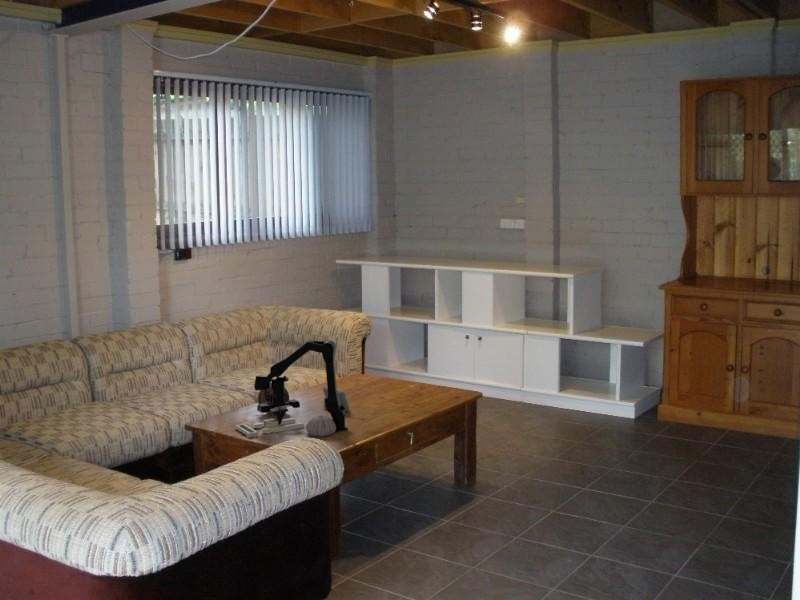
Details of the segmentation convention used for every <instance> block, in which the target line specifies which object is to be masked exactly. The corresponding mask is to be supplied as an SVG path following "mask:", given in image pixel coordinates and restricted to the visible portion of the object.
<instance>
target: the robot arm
mask: <svg viewBox="0 0 800 600" xmlns="http://www.w3.org/2000/svg"><path fill="white" fill-rule="evenodd" d="M309 351H311V352H312V351H313V352H316V353H320V354H321V356H322V358H323V361H324V363H325V364H324V365H325V374H326V386H327V387H328V396H326V397H325V396H324V400H325V408H326V409H327V410H326V409H325V410H326V411H327V412H328V413H329V414H330V417H331V419H332V420H333V422H334V423H335V424H336V425H335V426H336V431H335V432H339V431H343V430H348V429H349V428H348V427H347V426H346V415H345V413H346V412H347V411H346V408H345V407H344V406H343V405H342V404H341V401H340V397H339V395H338V392H337V389H338V388H337V378H336V377H337V376H336V366H335V358H336V353H337V352H336V351H337V345H336V343H335V342H334V341H332V340H326V341H325V340H324V341H323V340H312V339H309V340H307V341H306V342H305V343H304V344H303V345H302V346H300V347H299V348H298V349H296V350H295V351H294V352H292V353H291V354H290V355H288V356H287V357H286V358H282V359H281V360H279V361H277V362H275V363H274V364H272V366H271V367H269V369H270V370H269V371H270V372H269V373H268V374H267V375H256V376H255V380H254V384H253V386H254V391H257V392H260V391H268V390H269V389H270V388H271V383H272V392H271V396H269V395H268V394H266V395H263V400H264V402H268V404H272V405H267V404H266V403H265V404H258V403H257V406H256V411H258V412H259V413H260V414H261V413H262V414H264V413H265V414H267V413H266V412H269V411H271V412H273V414H274V415H273V416H274V417H275V418H274V419H275V420H277V421H278V426H281V425H280V424H281V422H282V420H283V419H284V417H285V415H286V414H287V412H289V409H288V407H292V408H293V409H298V408H301V403H300V401H299V400H297V399H295V398H293V399H289V400H288V401H287V403H286V402H285V396H286V393H285V388H286V386H285V383H286V382H288V381H289V380H290V379H289V378H288V377H287V375H283V374H284V373H285V372H286V371H287V370H288V369H289V367H291V365H292V364H294V363H296V361H298V360H299V359H301V358H302V357H303V356H304V355H306V354H307V353H308V352H309ZM282 375H283V376H282ZM275 406H276V407H275Z"/></svg>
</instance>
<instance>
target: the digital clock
mask: <svg viewBox="0 0 800 600" xmlns="http://www.w3.org/2000/svg"><path fill="white" fill-rule="evenodd" d="M322 390H323V393H324V398H325V397H326V396H328V387H327V385H326V386H323V387H322ZM337 392H338V395H339V397H340V401H341V404H342V405H343V406H344V407H345V408H346V411H345V412H350V406H349V402H348V399H347V396H346V393H345V391H343V390H341V389H338V388H337ZM323 407H324V410H326V411H327V409H326V408H325V400H324V401H323Z"/></svg>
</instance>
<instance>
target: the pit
mask: <svg viewBox="0 0 800 600" xmlns="http://www.w3.org/2000/svg"><path fill="white" fill-rule="evenodd" d="M243 428H244V429H243ZM236 429H237V430H239V431H240V432H242V433H243V434H242V433H241V434H242V435H244V434H245V435H246V436H245V435H244V436H245V437H247V436H248V437H253V438H256V437H255V436H258V437H259V433H258V431H256V429H254V428H252V427H250V426H248V425H246V424H245V423H242V424H235V430H236ZM237 430H236V431H237ZM246 430H247V431H246ZM239 431H238V432H239ZM248 431H249V432H248ZM240 432H239V433H240ZM248 437H247V438H248Z"/></svg>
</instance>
